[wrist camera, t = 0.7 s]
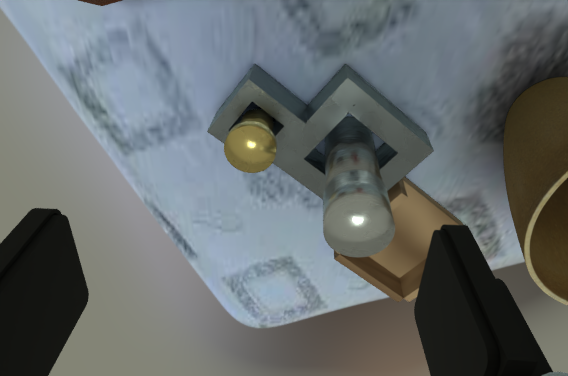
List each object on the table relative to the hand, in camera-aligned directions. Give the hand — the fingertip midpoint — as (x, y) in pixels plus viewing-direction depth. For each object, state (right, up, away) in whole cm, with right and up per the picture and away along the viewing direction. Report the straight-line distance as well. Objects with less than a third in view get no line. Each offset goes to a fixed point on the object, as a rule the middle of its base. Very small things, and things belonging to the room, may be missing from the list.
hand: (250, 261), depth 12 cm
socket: (+4, +8, +30) cm, 31 cm away
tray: (+13, -2, +36) cm, 38 cm away
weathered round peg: (+7, +7, +31) cm, 32 cm away
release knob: (-1, +7, +27) cm, 28 cm away
